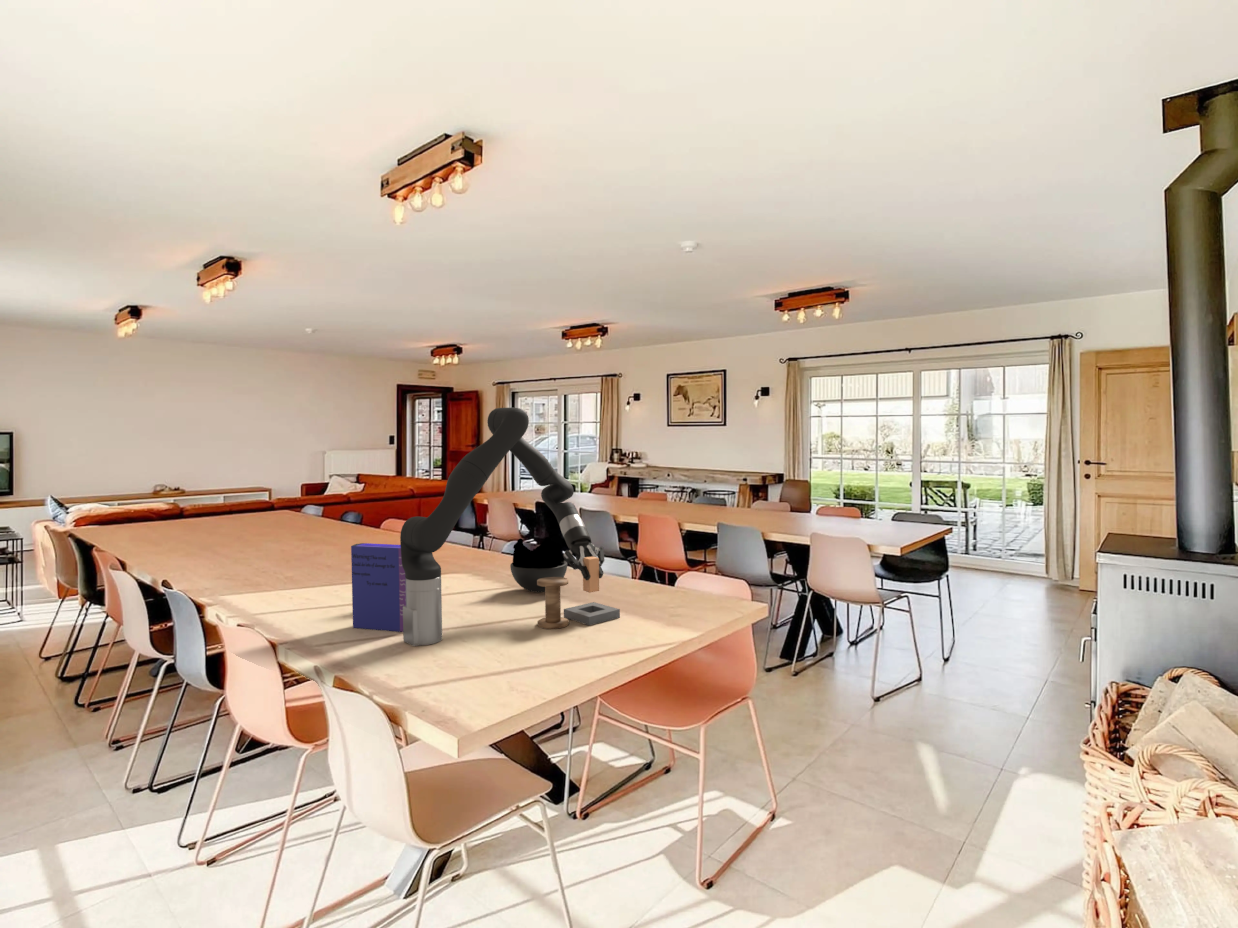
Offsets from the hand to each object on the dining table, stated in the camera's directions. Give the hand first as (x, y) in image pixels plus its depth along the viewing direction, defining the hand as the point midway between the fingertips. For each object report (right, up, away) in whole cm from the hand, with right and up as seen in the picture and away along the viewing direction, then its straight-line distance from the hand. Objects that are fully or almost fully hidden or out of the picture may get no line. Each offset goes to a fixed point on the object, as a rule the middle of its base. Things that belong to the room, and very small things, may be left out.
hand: (594, 577), depth 193 cm
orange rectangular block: (-1, -4, +2) cm, 5 cm away
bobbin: (-12, -13, -5) cm, 18 cm away
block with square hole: (-1, -12, +2) cm, 13 cm away
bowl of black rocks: (-21, -11, +35) cm, 43 cm away
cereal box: (-60, -13, -8) cm, 62 cm away
